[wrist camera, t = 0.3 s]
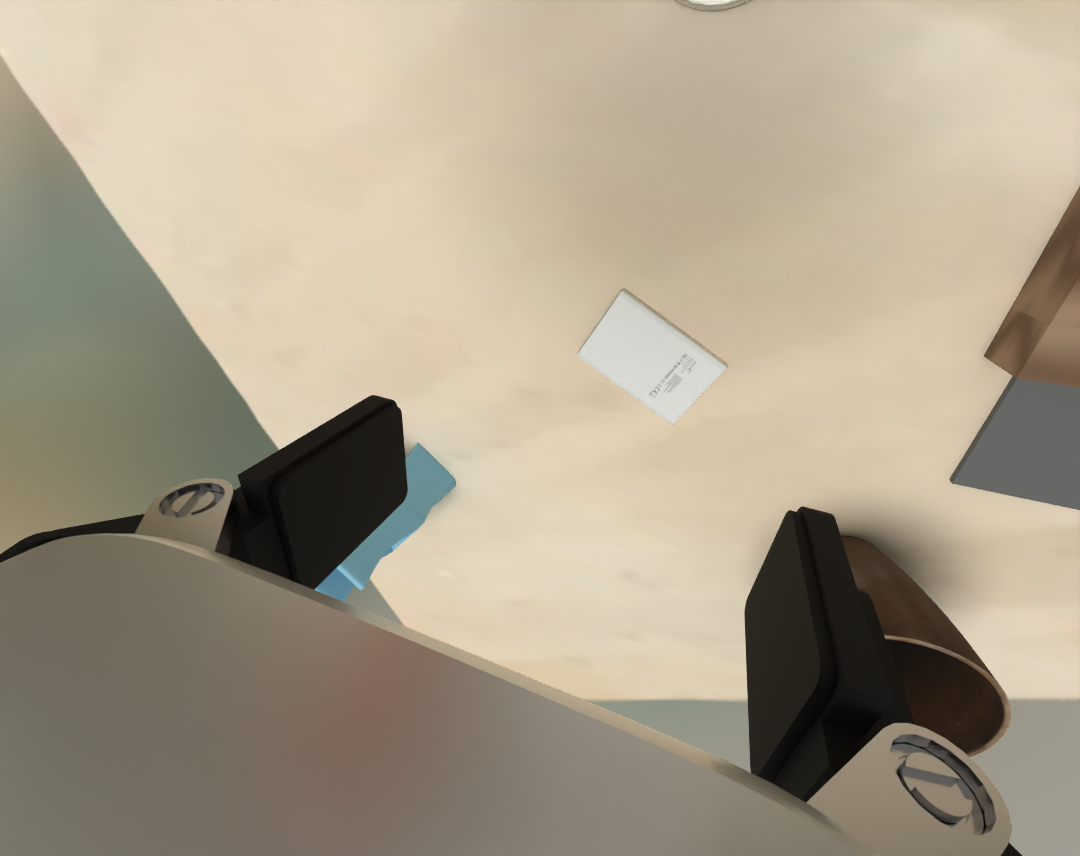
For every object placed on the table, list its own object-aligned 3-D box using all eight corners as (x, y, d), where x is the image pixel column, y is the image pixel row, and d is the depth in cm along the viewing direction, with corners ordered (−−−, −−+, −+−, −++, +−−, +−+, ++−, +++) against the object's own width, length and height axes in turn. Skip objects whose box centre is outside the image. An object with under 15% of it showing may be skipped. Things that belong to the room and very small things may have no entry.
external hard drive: (624, 287, 44) (727, 362, 44) (579, 351, 49) (673, 419, 49) (621, 290, 43) (727, 368, 43) (575, 356, 48) (671, 426, 48)
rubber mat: (1018, 367, 36) (1022, 370, 36) (1202, 394, 33) (1210, 397, 33) (949, 479, 42) (952, 483, 41) (1102, 511, 39) (1107, 515, 38)
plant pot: (955, 598, 46) (1045, 764, 33) (802, 625, 54) (826, 768, 41) (891, 486, 44) (962, 618, 30) (740, 532, 52) (744, 653, 38)
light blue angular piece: (431, 508, 68) (335, 613, 51) (392, 471, 67) (282, 565, 50) (459, 482, 63) (364, 588, 47) (418, 442, 63) (307, 536, 46)
